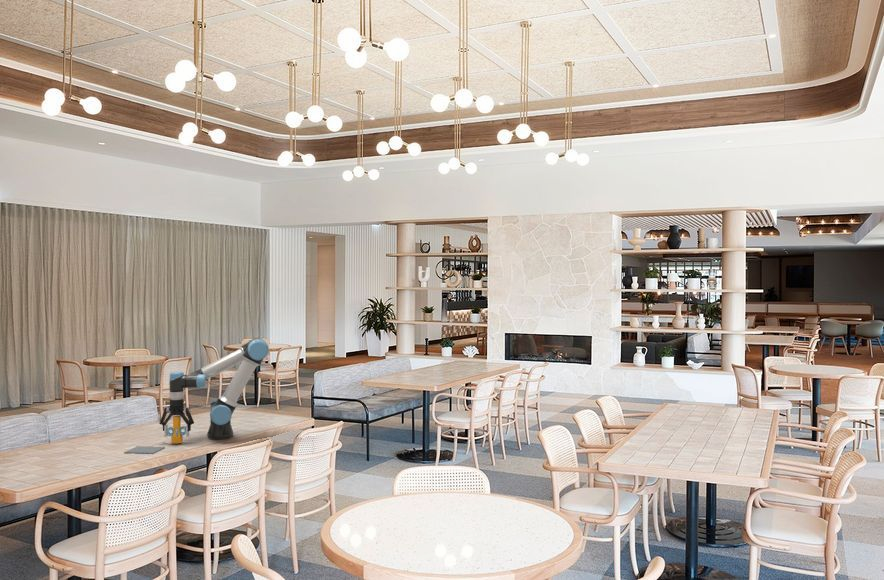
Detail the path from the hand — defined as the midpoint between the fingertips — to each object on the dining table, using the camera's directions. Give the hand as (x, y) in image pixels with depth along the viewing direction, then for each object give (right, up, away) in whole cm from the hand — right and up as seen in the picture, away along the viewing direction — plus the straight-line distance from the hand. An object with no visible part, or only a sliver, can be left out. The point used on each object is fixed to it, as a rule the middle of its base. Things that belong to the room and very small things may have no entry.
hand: (176, 436), depth 402 cm
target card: (-11, -4, -17) cm, 20 cm away
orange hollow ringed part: (0, -4, 0) cm, 4 cm away
